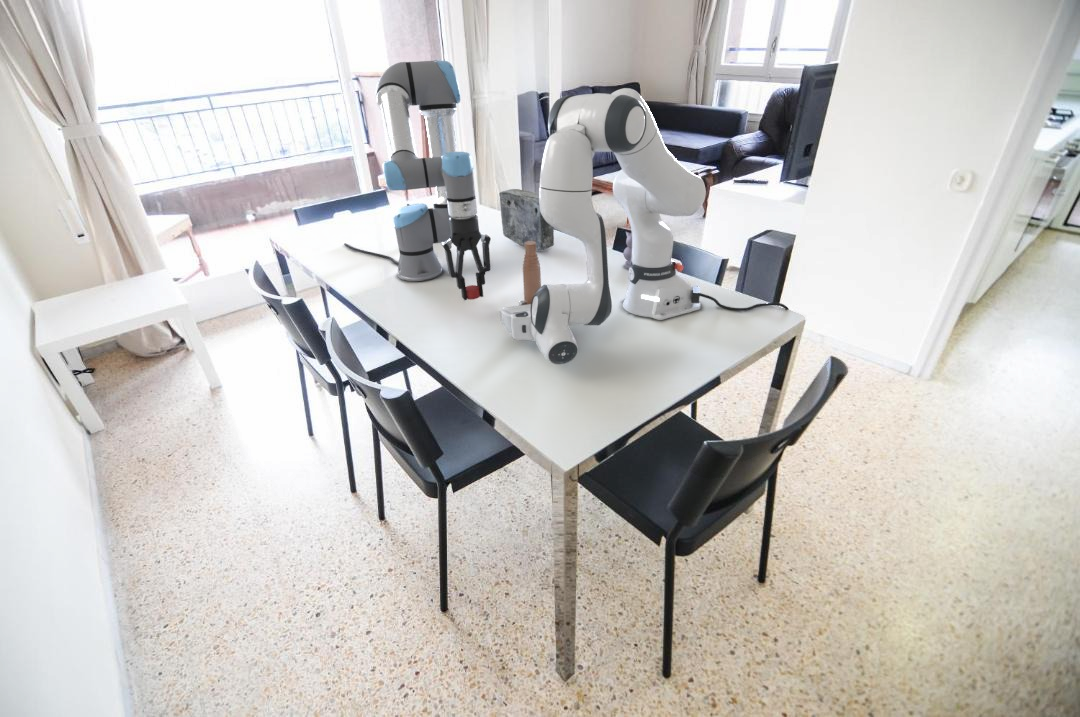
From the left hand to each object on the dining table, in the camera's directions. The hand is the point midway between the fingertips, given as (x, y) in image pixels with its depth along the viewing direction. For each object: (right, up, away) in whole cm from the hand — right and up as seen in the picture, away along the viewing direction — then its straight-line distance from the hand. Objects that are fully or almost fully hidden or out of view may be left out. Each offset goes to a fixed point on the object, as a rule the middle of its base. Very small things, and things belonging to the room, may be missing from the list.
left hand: (472, 296), depth 143 cm
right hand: (+17, -2, -5) cm, 18 cm away
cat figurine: (+53, +14, +32) cm, 63 cm away
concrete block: (+15, +26, +54) cm, 62 cm away
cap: (0, 0, 0) cm, 0 cm away
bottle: (+18, -8, -3) cm, 20 cm away
